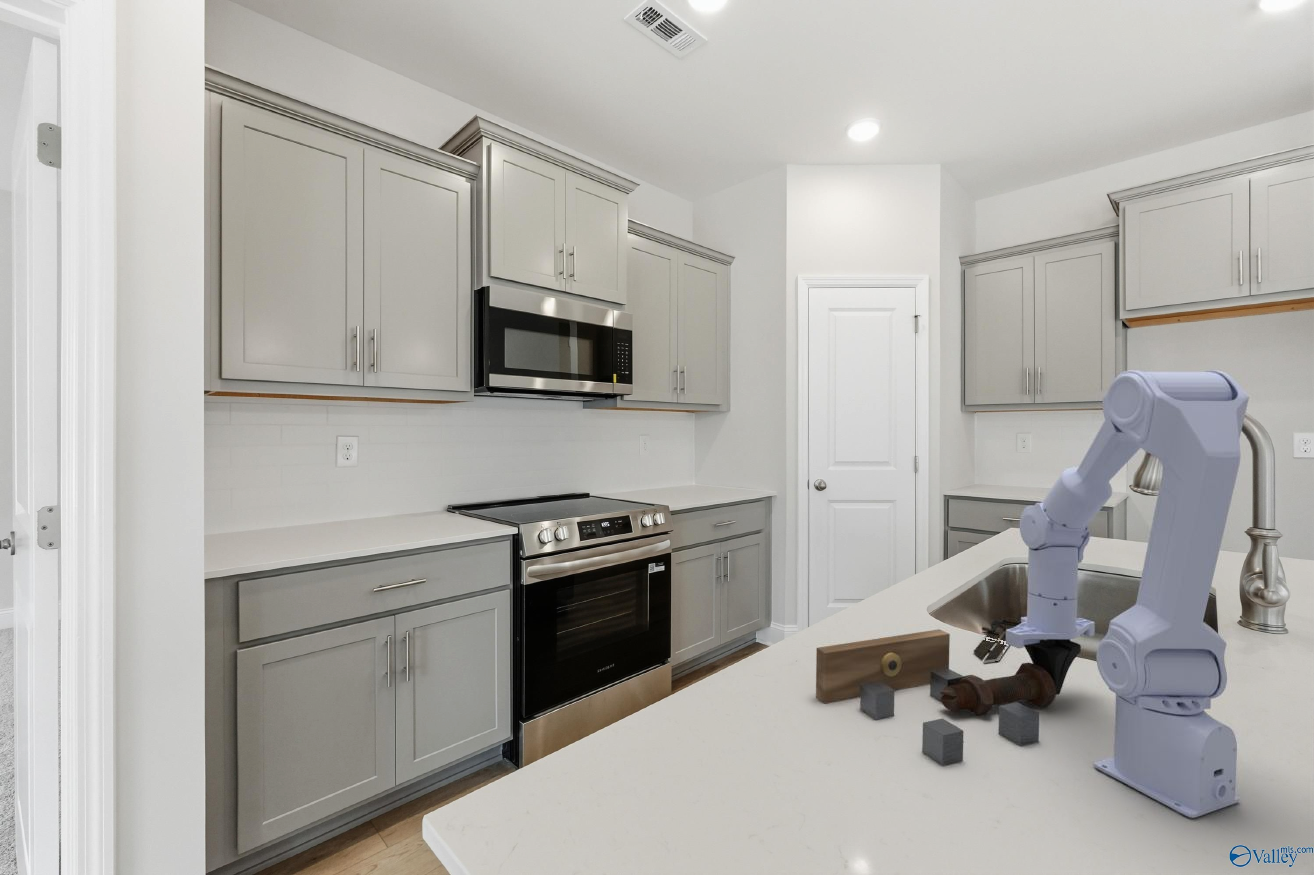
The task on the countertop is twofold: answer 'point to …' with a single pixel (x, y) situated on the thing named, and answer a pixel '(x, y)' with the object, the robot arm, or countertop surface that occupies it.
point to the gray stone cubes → (940, 734)
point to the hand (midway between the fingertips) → (1049, 691)
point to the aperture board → (880, 663)
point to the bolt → (1000, 691)
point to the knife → (992, 633)
